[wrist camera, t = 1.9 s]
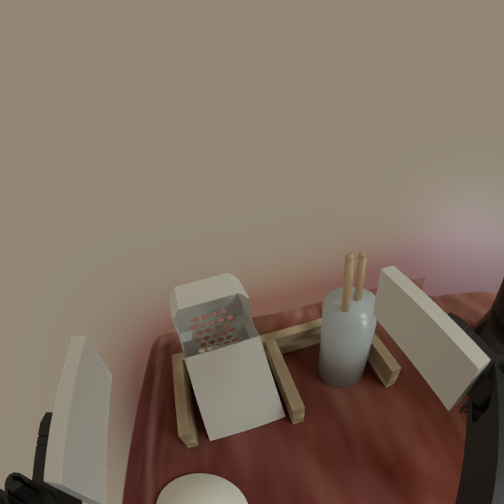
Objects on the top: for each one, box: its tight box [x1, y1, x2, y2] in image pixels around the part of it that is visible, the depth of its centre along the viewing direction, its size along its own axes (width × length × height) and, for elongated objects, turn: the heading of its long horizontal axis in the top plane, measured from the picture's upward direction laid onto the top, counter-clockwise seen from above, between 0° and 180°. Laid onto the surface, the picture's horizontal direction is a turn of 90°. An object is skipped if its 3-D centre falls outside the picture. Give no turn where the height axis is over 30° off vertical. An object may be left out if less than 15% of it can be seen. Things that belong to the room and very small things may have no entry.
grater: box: [169, 273, 286, 441], centre depth 31 cm, size 10×10×20 cm
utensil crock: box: [318, 252, 377, 388], centre depth 34 cm, size 7×7×20 cm
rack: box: [172, 318, 401, 447], centre depth 37 cm, size 30×14×4 cm, turn 104°
